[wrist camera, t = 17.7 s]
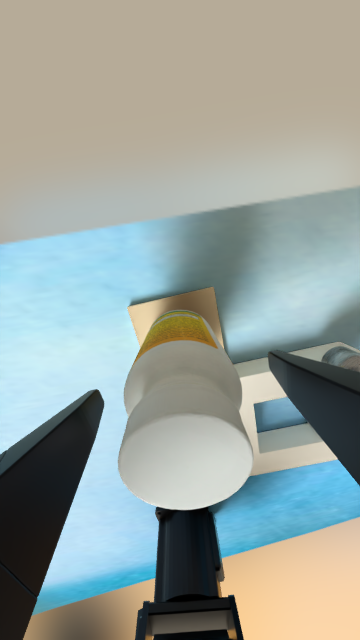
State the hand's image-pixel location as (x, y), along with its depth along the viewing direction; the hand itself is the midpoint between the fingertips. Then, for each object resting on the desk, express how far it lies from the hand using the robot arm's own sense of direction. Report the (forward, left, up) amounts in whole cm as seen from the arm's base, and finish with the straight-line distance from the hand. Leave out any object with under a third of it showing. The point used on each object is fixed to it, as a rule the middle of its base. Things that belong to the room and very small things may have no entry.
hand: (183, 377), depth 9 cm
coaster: (0, 0, -6) cm, 6 cm away
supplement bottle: (0, 0, -6) cm, 6 cm away
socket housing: (+8, -10, -6) cm, 14 cm away
